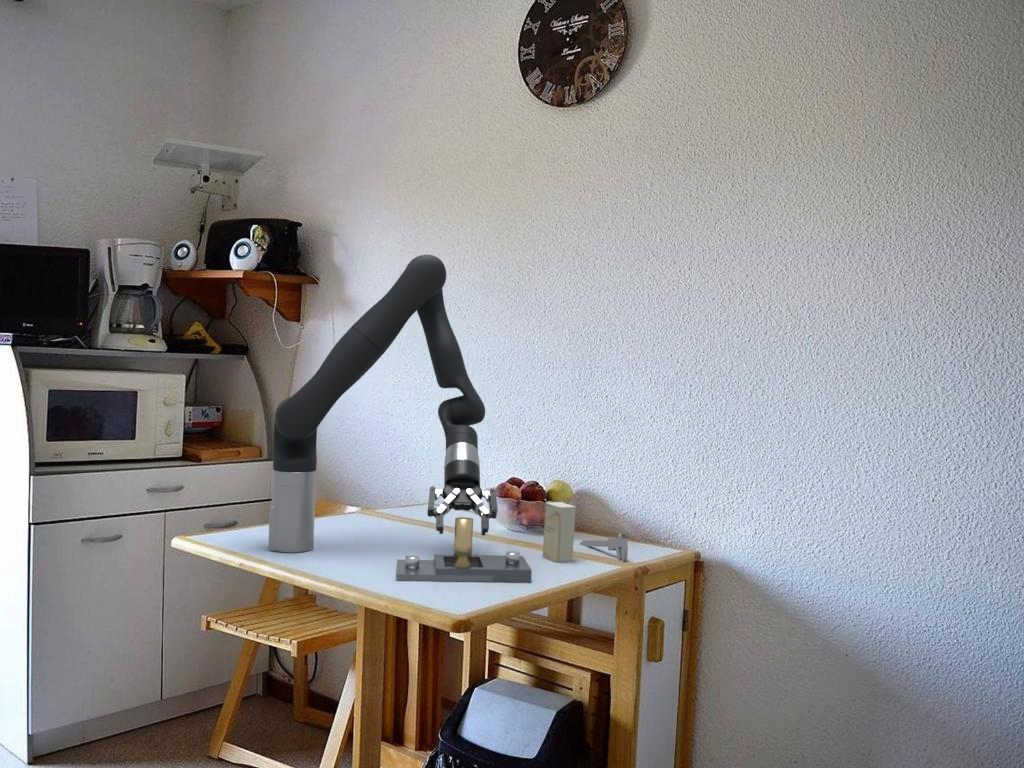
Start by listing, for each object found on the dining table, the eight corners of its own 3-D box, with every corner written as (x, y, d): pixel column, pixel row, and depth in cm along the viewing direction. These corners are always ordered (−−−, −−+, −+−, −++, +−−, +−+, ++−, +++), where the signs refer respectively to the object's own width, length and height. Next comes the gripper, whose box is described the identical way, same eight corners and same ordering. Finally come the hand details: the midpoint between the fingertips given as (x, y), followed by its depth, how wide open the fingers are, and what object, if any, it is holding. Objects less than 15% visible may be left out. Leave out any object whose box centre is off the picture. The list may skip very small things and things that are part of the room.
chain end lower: (396, 580, 170) (397, 563, 170) (397, 565, 183) (397, 549, 183) (492, 581, 172) (493, 565, 172) (486, 566, 185) (487, 551, 185)
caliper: (627, 563, 196) (628, 534, 196) (623, 563, 195) (624, 534, 195) (583, 544, 214) (584, 518, 214) (579, 544, 214) (580, 518, 214)
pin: (453, 575, 176) (455, 520, 176) (452, 571, 179) (454, 517, 179) (471, 575, 176) (473, 520, 176) (470, 571, 180) (472, 517, 180)
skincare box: (541, 556, 197) (544, 502, 197) (559, 555, 199) (561, 501, 199) (556, 563, 191) (559, 506, 191) (574, 561, 194) (576, 505, 193)
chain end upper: (435, 581, 171) (436, 558, 171) (433, 565, 184) (434, 544, 183) (531, 582, 173) (532, 559, 173) (522, 567, 186) (523, 546, 186)
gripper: (429, 456, 186) (428, 520, 175) (497, 459, 188) (499, 522, 177) (427, 478, 192) (426, 542, 180) (493, 480, 193) (496, 543, 182)
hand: (462, 532), depth 179 cm, fingers open, 8 cm apart
